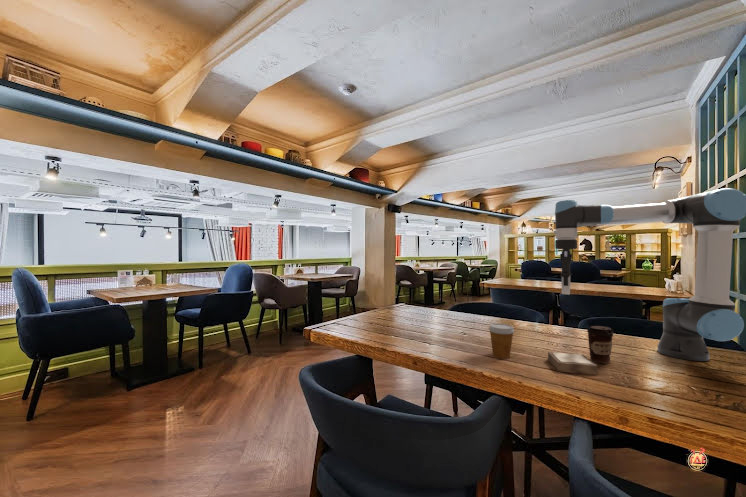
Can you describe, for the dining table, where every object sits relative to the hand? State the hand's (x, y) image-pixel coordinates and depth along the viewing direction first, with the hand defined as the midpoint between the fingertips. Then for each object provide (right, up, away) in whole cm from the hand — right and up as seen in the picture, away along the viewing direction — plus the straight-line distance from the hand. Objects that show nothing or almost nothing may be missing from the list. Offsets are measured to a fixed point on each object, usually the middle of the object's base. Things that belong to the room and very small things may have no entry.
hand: (566, 292), depth 126 cm
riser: (-5, -26, -11) cm, 28 cm away
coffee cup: (+10, -26, -6) cm, 28 cm away
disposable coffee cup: (-26, -26, 0) cm, 37 cm away
